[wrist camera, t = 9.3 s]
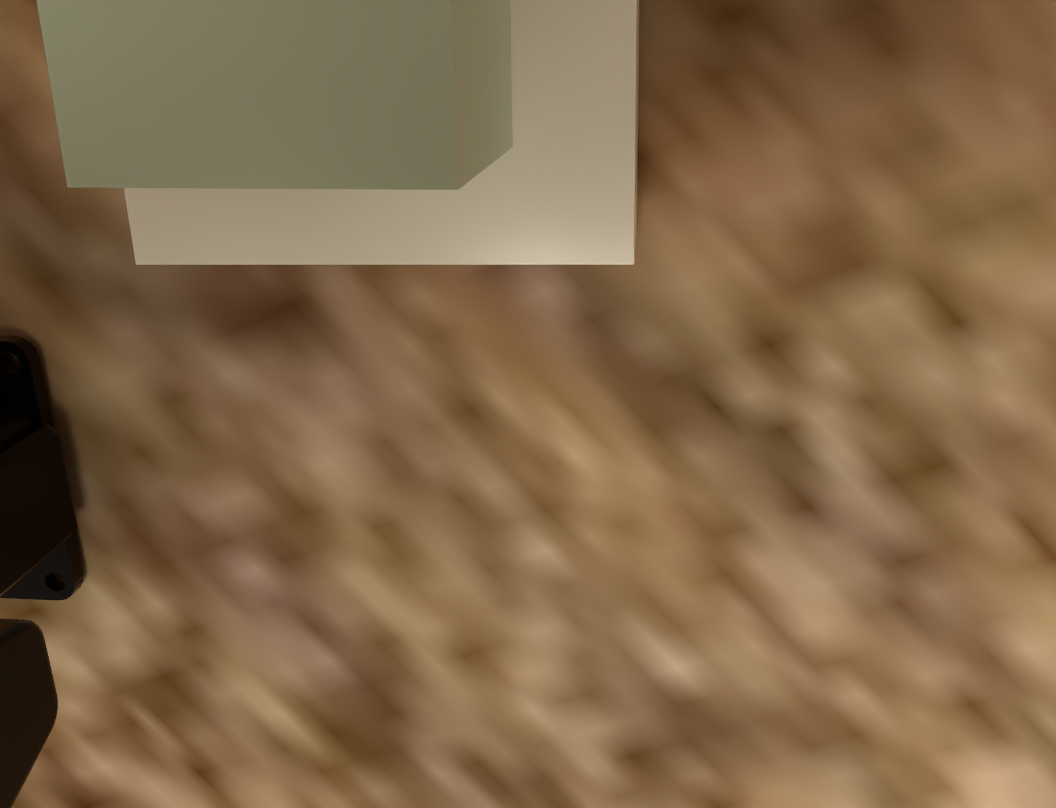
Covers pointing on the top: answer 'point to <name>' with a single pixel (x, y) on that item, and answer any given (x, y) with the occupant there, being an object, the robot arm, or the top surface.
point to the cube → (279, 92)
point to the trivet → (477, 207)
